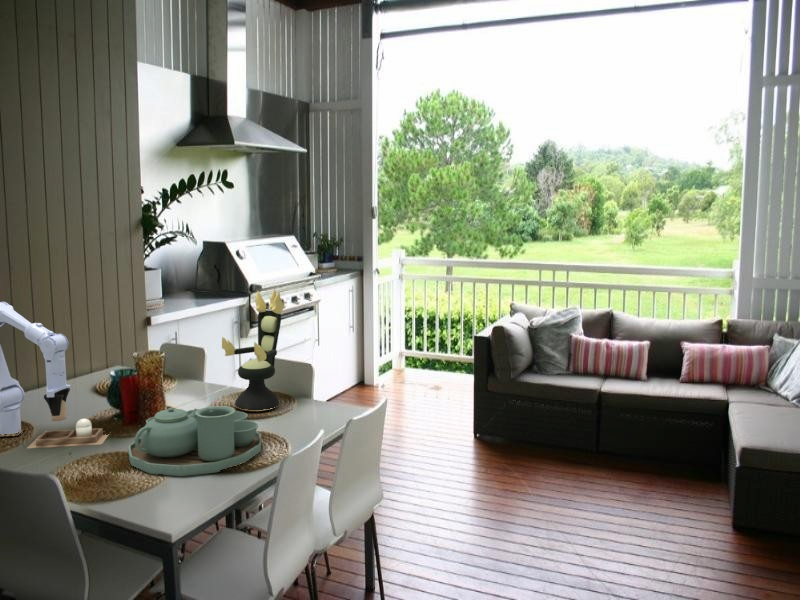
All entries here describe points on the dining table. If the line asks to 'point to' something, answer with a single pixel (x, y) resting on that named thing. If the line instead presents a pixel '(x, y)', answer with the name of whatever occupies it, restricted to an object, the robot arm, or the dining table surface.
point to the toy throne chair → (260, 356)
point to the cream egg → (83, 428)
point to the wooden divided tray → (67, 439)
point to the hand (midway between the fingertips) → (58, 413)
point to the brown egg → (62, 413)
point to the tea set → (194, 441)
